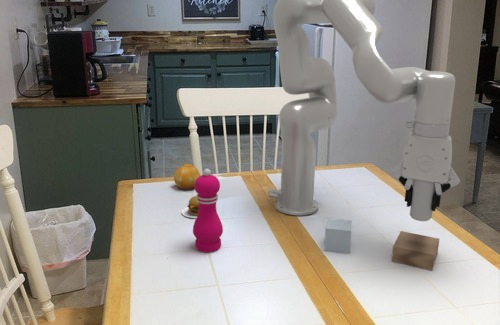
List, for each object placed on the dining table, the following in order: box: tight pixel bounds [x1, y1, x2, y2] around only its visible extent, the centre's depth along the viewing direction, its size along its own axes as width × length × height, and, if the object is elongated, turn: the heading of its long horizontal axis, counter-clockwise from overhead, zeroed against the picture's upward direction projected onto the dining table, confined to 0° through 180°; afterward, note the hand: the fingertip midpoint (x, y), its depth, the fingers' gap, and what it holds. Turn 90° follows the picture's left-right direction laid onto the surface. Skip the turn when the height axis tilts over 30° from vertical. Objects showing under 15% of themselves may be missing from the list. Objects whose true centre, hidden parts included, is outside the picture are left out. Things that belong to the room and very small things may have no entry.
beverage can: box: [409, 180, 436, 222], centre depth 115 cm, size 5×5×12 cm
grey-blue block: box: [323, 217, 352, 254], centre depth 125 cm, size 6×6×6 cm
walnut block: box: [391, 230, 440, 272], centre depth 120 cm, size 9×9×4 cm
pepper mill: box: [192, 168, 224, 253], centre depth 122 cm, size 7×7×20 cm
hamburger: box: [180, 195, 199, 219], centre depth 144 cm, size 12×12×6 cm
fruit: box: [173, 162, 201, 190], centre depth 162 cm, size 8×8×8 cm
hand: (421, 206), depth 116 cm, fingers closed on beverage can, 4 cm apart
